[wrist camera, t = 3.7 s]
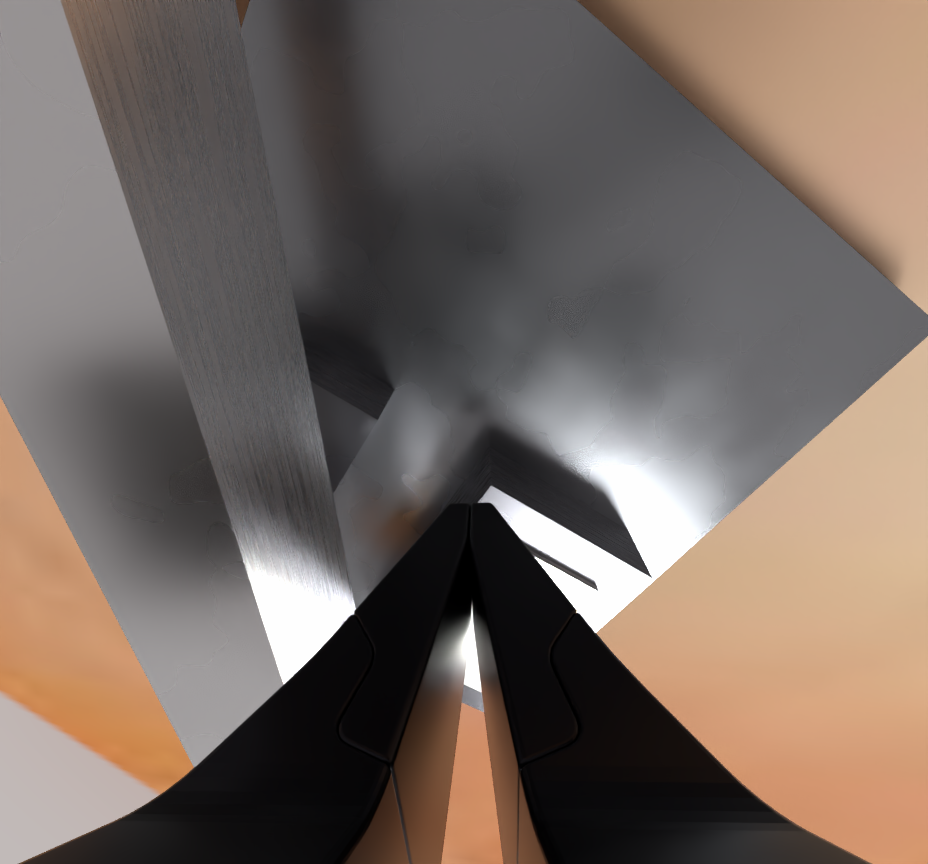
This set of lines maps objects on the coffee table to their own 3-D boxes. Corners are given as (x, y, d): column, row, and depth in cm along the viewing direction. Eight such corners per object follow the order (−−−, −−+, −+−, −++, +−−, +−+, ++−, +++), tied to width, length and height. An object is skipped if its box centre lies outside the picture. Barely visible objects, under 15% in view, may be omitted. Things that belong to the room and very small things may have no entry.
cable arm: (-61, -408, 4) (-1278, -1864, 1) (173, -437, 4) (-591, -2117, 1) (297, 714, 11) (235, 877, 9) (385, 715, 11) (353, 880, 8)
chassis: (340, -174, 8) (256, -422, 5) (901, 318, 11) (1054, 347, 8) (108, 511, 14) (13, 581, 11) (500, 692, 18) (504, 783, 15)
